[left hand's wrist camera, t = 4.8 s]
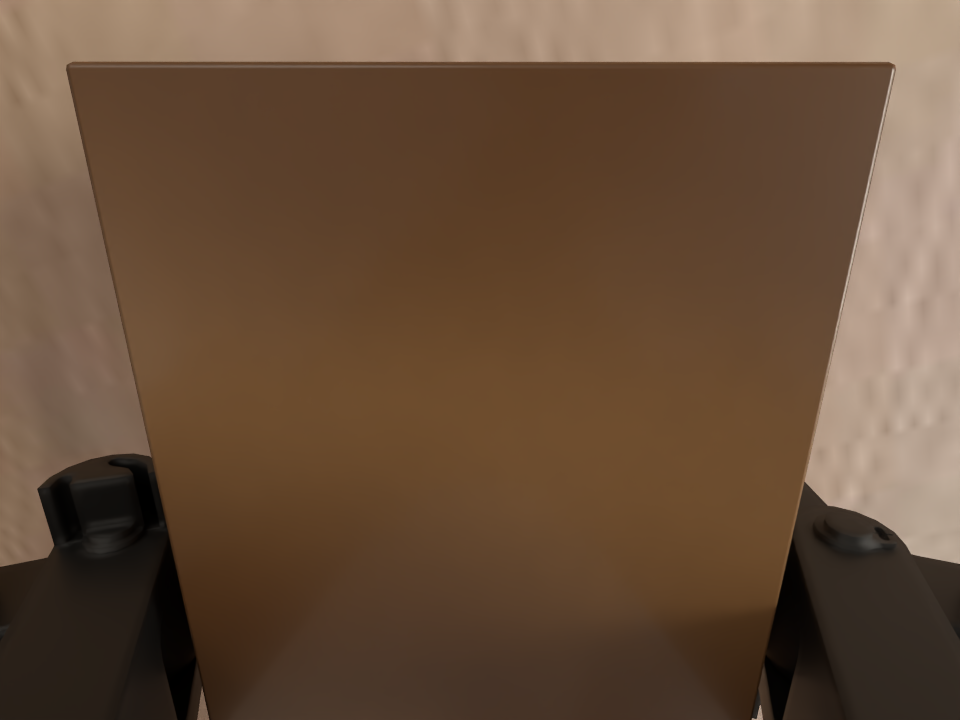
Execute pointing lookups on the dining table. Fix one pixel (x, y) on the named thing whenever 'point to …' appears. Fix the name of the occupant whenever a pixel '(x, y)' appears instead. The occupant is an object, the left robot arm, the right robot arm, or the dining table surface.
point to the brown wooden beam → (480, 367)
